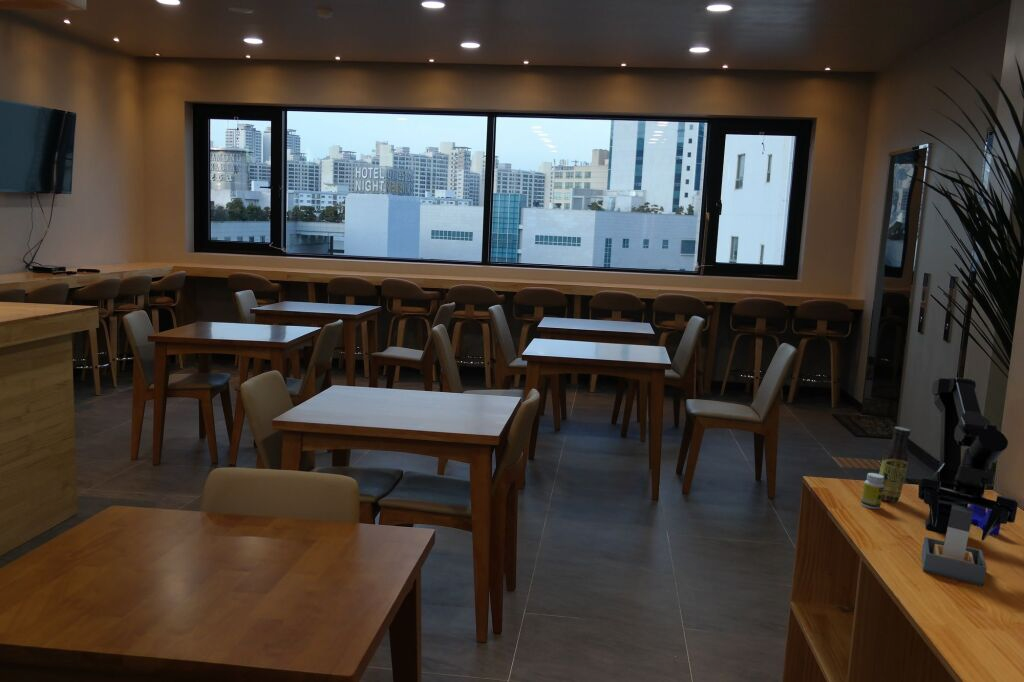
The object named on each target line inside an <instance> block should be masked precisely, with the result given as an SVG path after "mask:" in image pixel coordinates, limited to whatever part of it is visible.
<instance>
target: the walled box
mask: <svg viewBox="0 0 1024 682" xmlns="http://www.w3.org/2000/svg"><path fill="white" fill-rule="evenodd" d="M944 543H945V540H944V541H943V540H939V539H935V538H931V537H928V536H924V539H923V544H922V545H923V546H922V548H921V553H922V554H921V564H922V565H923V566H922V572H924V571H925V572H924V573H928V572H929V574H932V573H933V575H936V574H937V575H936V576H940V575H941V577H945V578H949V579H952V580H957V581H961V582H965V583H968V584H973V585H977V586H980V587H984V582H985V577H986V574H987V568H988V567H987V564H986V561H985V560H986V559H985V558H984V553H983V551H982V549H979V548H978V549H977V548H975V547H970V546H966V550H965V555H964V560H960V559H956V558H952V557H948V556H944V555H942V553H943V548H944Z"/></svg>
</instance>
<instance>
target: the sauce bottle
mask: <svg viewBox="0 0 1024 682" xmlns="http://www.w3.org/2000/svg"><path fill="white" fill-rule="evenodd" d="M892 432H893V434H892V439H891V443H890V444H889V445H888V446H887V448H885V450H884V453H883V456H882V457H883V458H882V460H881V464H880V468H879V472H878V474H880V475H882V476H884V481H883V484H884V490H883V495H882V500H881V501H884V502H889V503H898V502H899V500H900V497H901V494H902V490H903V486H904V481H905V477H906V474H907V469H908V464H909V455H910V452H909V449H908V441H909V437H910V435H911V429H909V428H906V427H901V426H894V428H893V430H892Z"/></svg>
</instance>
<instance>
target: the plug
mask: <svg viewBox="0 0 1024 682" xmlns="http://www.w3.org/2000/svg"><path fill="white" fill-rule="evenodd" d="M972 516H973V509H971V508H967V507H962V506H958V505H954V504H952V508H951V513H950V518H949V523H948V528H947V533H945V534H946V535H945V539H944V541H945V543H944V548H943V553H942V555H944V556H948V557H952V558H956V559H960V560H964V555H965V550H966V547H967V545H968V539H969V535H970V529H971V525H972V524H971V521H972Z"/></svg>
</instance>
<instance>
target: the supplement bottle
mask: <svg viewBox="0 0 1024 682" xmlns="http://www.w3.org/2000/svg"><path fill="white" fill-rule="evenodd" d="M883 481H884V476H882V475H880V474H879V473H875V472H868V473H867V475H866V480H865V481H864V483H863V489H862V495H861V499H860V505H861V506H863V507H865V508H868V509H871V510H872V509H873V510H879V509H880V508H881V504H882V501H883V500H882V495H883V490H884V484H883Z"/></svg>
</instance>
